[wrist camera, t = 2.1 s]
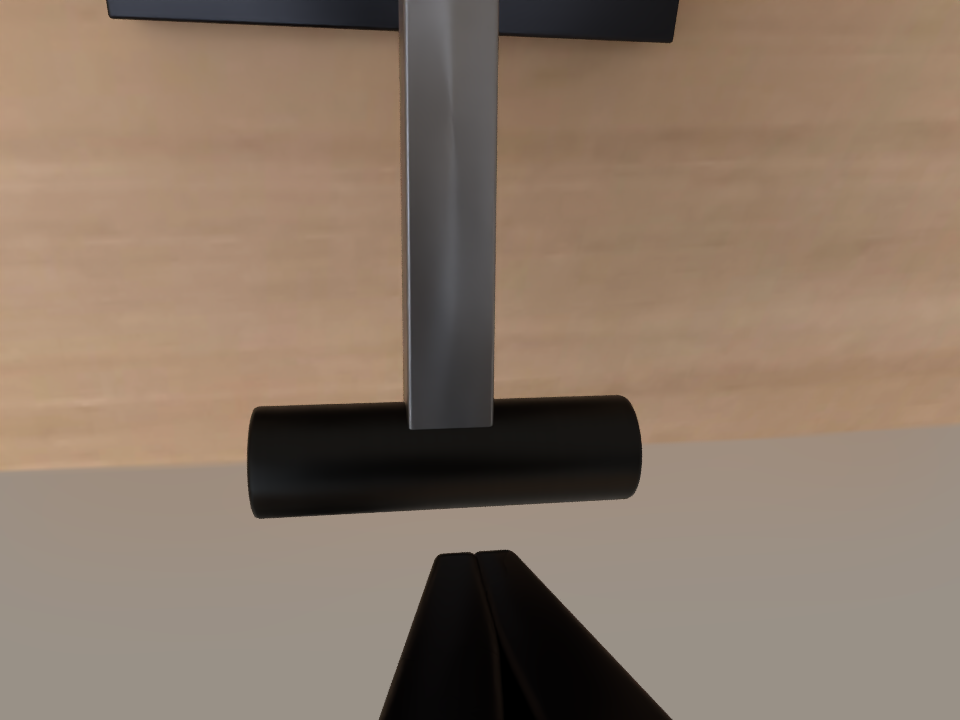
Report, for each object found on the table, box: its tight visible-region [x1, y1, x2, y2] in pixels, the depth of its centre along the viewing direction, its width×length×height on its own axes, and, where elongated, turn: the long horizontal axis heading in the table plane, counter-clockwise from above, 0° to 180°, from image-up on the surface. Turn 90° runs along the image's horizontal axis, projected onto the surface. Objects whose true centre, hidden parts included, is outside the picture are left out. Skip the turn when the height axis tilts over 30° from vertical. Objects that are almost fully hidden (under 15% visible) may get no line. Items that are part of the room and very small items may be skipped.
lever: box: [247, 0, 642, 519], centre depth 9 cm, size 12×5×2 cm, turn 177°
